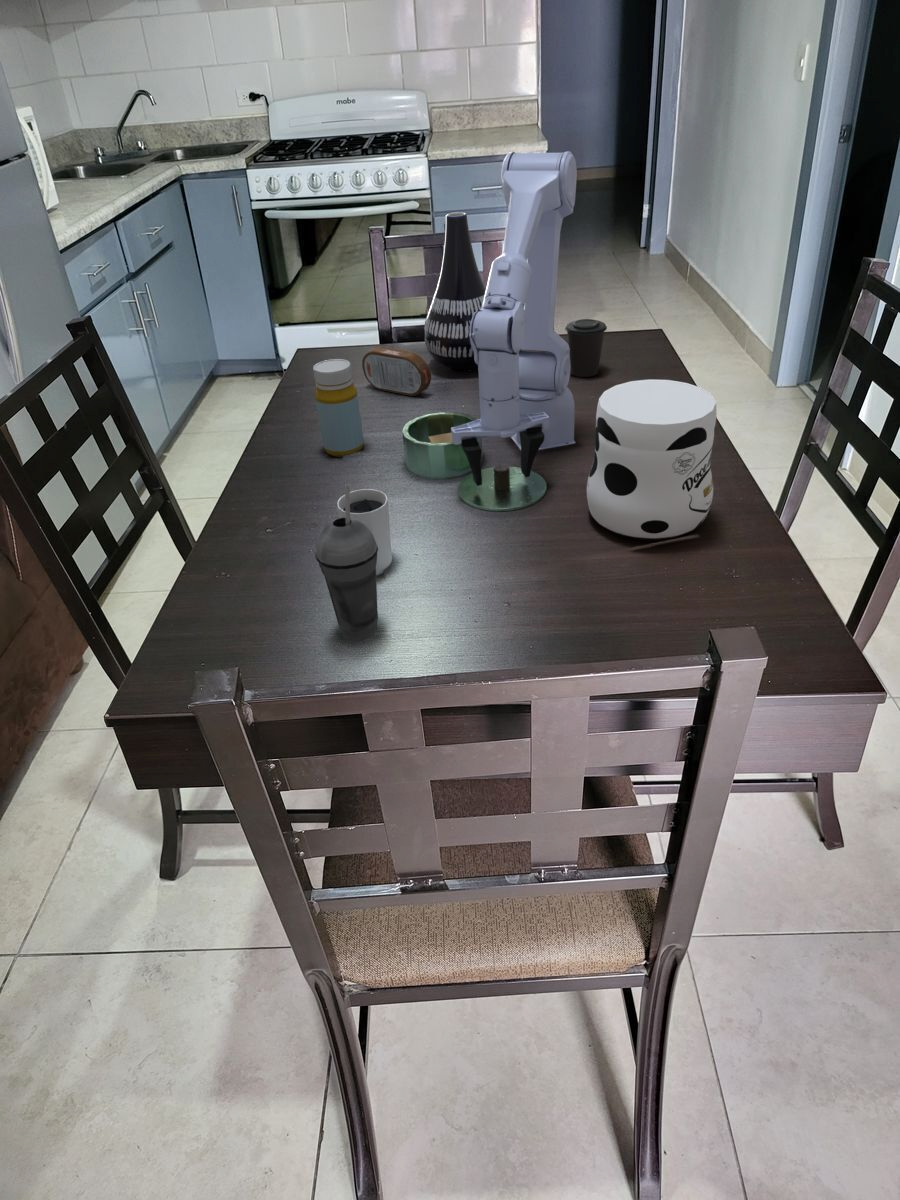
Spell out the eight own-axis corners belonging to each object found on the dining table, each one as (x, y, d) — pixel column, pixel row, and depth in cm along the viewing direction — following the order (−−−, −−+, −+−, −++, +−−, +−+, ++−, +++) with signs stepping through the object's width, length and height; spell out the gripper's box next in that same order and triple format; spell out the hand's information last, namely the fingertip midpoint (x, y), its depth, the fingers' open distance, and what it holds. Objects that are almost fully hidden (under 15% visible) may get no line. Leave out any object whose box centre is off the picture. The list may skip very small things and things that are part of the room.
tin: (433, 394, 163) (430, 352, 158) (424, 400, 161) (420, 357, 156) (372, 383, 170) (366, 342, 165) (362, 388, 168) (357, 347, 163)
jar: (470, 442, 145) (468, 407, 141) (491, 473, 135) (490, 437, 131) (399, 454, 142) (395, 419, 139) (415, 487, 132) (412, 450, 129)
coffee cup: (607, 378, 163) (610, 327, 158) (566, 380, 164) (567, 330, 158) (602, 363, 170) (604, 314, 164) (562, 365, 170) (562, 316, 164)
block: (452, 454, 140) (451, 432, 138) (459, 464, 137) (457, 442, 135) (429, 458, 140) (428, 436, 137) (435, 468, 136) (433, 446, 134)
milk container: (729, 541, 114) (748, 418, 103) (607, 559, 112) (614, 436, 102) (680, 483, 128) (693, 369, 117) (571, 499, 126) (573, 384, 116)
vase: (411, 368, 175) (397, 217, 158) (465, 347, 183) (457, 201, 166) (463, 386, 165) (454, 227, 148) (518, 363, 174) (516, 210, 156)
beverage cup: (331, 615, 106) (304, 474, 94) (388, 609, 106) (369, 468, 95) (329, 651, 100) (301, 505, 88) (389, 645, 100) (369, 499, 89)
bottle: (358, 458, 142) (345, 373, 133) (319, 457, 143) (304, 373, 135) (369, 440, 148) (358, 358, 139) (331, 439, 149) (318, 357, 140)
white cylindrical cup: (341, 559, 117) (330, 496, 111) (385, 547, 119) (377, 484, 113) (355, 583, 112) (345, 518, 106) (402, 570, 113) (394, 505, 108)
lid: (529, 466, 136) (529, 442, 133) (559, 505, 125) (559, 479, 122) (449, 481, 133) (447, 456, 131) (472, 521, 123) (470, 496, 120)
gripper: (457, 411, 115) (463, 498, 123) (556, 395, 118) (555, 481, 126) (445, 393, 121) (451, 477, 129) (540, 378, 123) (540, 462, 131)
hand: (501, 478), depth 128 cm, fingers open, 7 cm apart
